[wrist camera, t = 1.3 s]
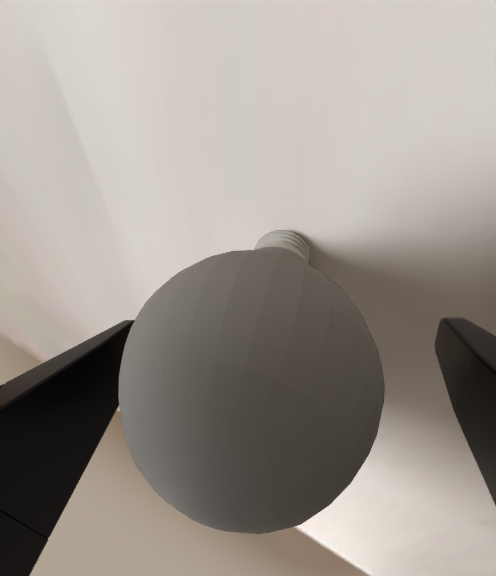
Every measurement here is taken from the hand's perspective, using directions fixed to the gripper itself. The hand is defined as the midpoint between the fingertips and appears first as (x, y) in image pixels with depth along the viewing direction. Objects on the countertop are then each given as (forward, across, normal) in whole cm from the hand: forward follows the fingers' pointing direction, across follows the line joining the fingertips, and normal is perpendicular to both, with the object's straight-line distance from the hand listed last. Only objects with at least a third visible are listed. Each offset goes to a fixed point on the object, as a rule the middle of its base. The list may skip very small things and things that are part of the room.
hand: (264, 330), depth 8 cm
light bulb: (+6, 0, 0) cm, 6 cm away
